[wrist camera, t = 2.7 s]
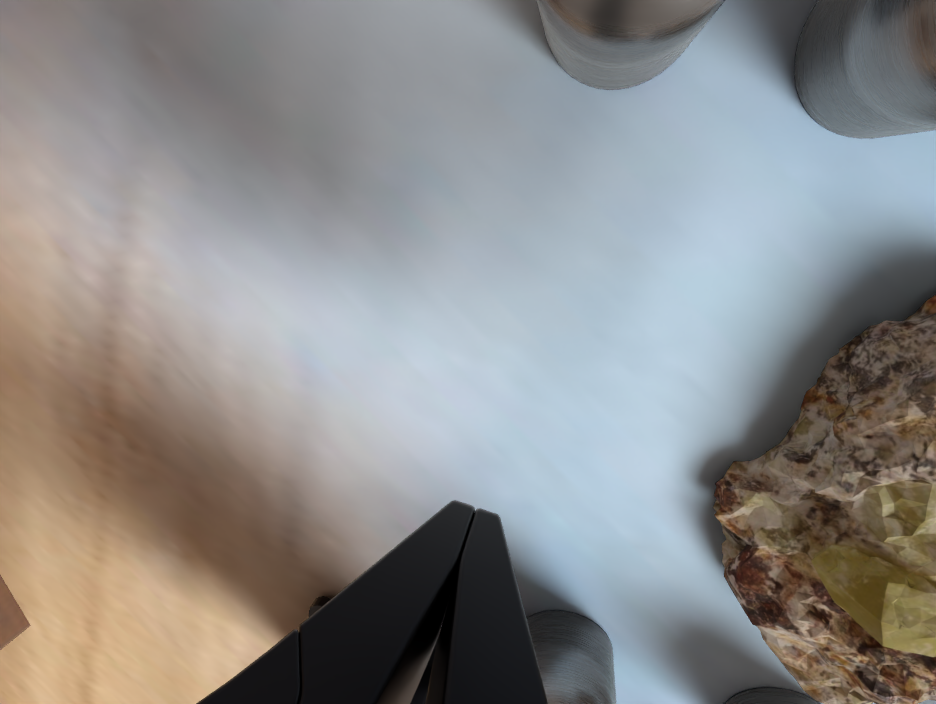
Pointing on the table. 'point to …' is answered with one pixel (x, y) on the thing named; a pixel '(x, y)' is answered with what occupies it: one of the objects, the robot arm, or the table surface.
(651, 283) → the table surface
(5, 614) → the tissue box cover
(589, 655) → the spacer posts
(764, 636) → the mineral rock
